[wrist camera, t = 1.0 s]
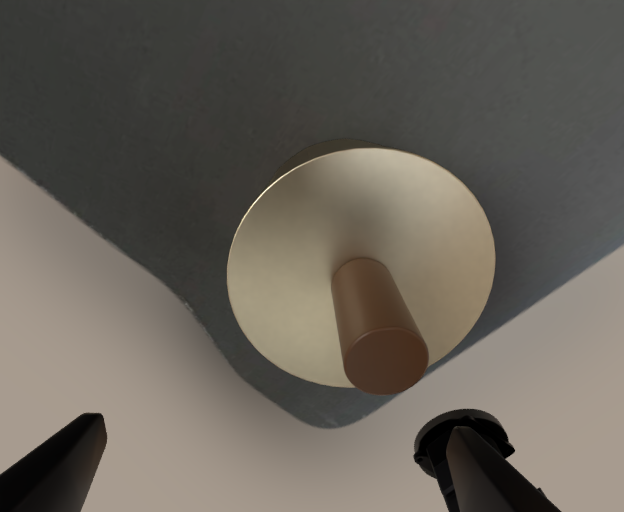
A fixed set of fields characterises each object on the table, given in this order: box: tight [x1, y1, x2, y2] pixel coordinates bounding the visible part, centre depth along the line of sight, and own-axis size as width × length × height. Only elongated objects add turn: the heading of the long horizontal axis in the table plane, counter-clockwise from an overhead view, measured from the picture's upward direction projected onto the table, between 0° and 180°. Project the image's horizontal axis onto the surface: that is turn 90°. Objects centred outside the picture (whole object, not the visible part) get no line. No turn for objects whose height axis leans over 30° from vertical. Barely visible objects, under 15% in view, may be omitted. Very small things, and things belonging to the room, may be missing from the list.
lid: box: [227, 146, 495, 395], centre depth 13 cm, size 10×10×6 cm
